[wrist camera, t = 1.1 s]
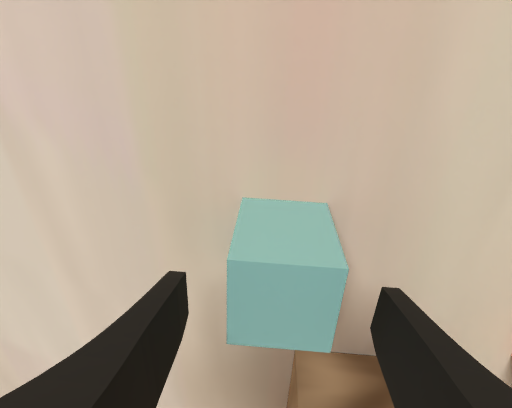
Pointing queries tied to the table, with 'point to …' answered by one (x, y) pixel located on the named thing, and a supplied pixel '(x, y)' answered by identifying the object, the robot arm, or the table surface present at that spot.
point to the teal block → (284, 276)
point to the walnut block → (337, 381)
